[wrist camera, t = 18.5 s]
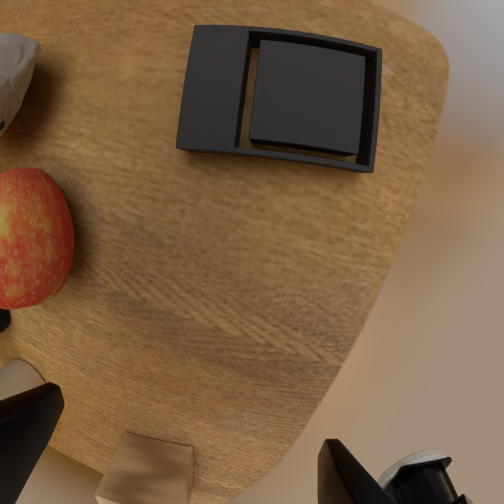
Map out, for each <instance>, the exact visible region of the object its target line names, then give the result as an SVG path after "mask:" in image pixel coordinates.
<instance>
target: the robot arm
mask: <svg viewBox="0 0 504 504" xmlns="http://www.w3.org/2000/svg"><path fill="white" fill-rule="evenodd" d="M63 409H64V399H63V396H62V392H61V388H60V387H59V386H58V385H56V384H54V383H51V382H48V383H45V384H43V385H40V386H38V387H35V388H32V389H30V390H27V391H24V392H22V393H19V394H16V395H14V396H11V397H8V398H6V399H3V400H0V504H15V503H16V501H17V499H18V497H19V495H20V493H21V491H22V489H23V487H24V486H25V484H26V482H27V480H28V478H29V476H30V474H31V473H32V471H33V469H34V467H35V465H36V463H37V461H38V460H39V458H40V456H41V454H42V453H43V451H44V449H45V447H46V446H47V444H48V442H49V440H50V438H51V436H52V434H53V431H54V429H55V427H56V425H57V422H58V420H59V418H60V415H61V413H62V411H63ZM451 461H452V459H451V457H446V458H441V459H436V460H431V461H426V462H420V463H414V464H408V465H404V466H402V467H400V468H399V470H398V471H397V473H396V474H395V475H394V477H393V478H392V480H391V481H390V482H389V484H388V485H387V487H386V488H385V489H384V490H383V488H382V487H381V486H380V485H379V484H378V483H377V482H376V481H375V480H374V479H373V478H372V476H370V474H369V473H368V472H367V471H366V470H365V469H364V468H363V466H362V465H361V464H360V463H359V462H358V461H357V460H356V459H355V457H354V456H353V455H352V454H351V453H350V452H349V451H348V449H346V447H345V446H344V445H343V444H342V443H341V442H340V440H338V439H326V440H325V441H324V443H323V446H322V448H321V450H320V452H319V455H318V504H473V503H472V501H471V500H470V499H468V497H467V496H466V495H464V494H462V495H461V496H459V497H458V495H457V493H456V491H455V489H454V486H453V484H452V482H451V480H450V478H449V476H448V474H447V472H446V470H445V469H446V468H447V467H448V465H449V464H450V463H451Z"/></svg>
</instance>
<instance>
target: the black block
mask: <svg viewBox="0 0 504 504" xmlns="http://www.w3.org/2000/svg"><path fill="white" fill-rule="evenodd" d="M364 77H365V57H364V56H360V55H355V54H351V53H346V52H342V51H337V50H332V49H326V48H321V47H315V46H309V45H302V44H295V43H287V42H279V41H269V40H261V42H260V50H259V57H258V65H257V73H256V82H255V90H254V98H253V107H252V115H251V123H250V132H249V139H250V141H251V143H255V144H264V145H273V146H281V147H289V148H296V149H303V150H310V151H317V152H323V153H329V154H335V155H341V156H350V155H356V154H358V152H359V142H360V132H361V121H362V109H363V95H364Z"/></svg>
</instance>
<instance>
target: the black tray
mask: <svg viewBox="0 0 504 504" xmlns="http://www.w3.org/2000/svg"><path fill="white" fill-rule="evenodd" d="M261 40H269V41H279V42H287V43H295V44H302V45H309V46H315V47H321V48H326V49H332V50H337V51H342V52H346V53H351V54H355V55H360V56H364V57H365V77H364V95H363V109H362V121H361V132H360V142H359V152H358V154H357V161H356V164H354V163H349V162H343V161H337V160H331V159H325V158H319V157H313V156H306V155H299V154H292V153H285V152H277V151H269V150H260V149H251V148H242V147H239V140H240V132H241V123H242V115H243V107H244V99H245V91H246V84H247V76H248V68H249V61H250V54H251V46H252V47H257V48H260V42H261ZM381 72H382V49H380V48H377V47H373V46H369V45H365V44H361V43H357V42H353V41H348V40H344V39H339V38H334V37H329V36H324V35H318V34H312V33H306V32H299V31H292V30H284V29H276V28H265V27H253V26H250V27H249V26H234V25H195V26H194V31H193V36H192V42H191V47H190V53H189V58H188V64H187V70H186V76H185V82H184V89H183V96H182V102H181V110H180V117H179V125H178V133H177V141H176V148H177V149H181V150H185V151H191V152H206V153H218V154H229V155H239V156H249V157H258V158H267V159H275V160H283V161H290V162H298V163H304V164H311V165H318V166H324V167H330V168H336V169H342V170H348V171H353V172H359V173H373V171H374V162H375V153H376V144H377V134H378V122H379V109H380V94H381Z"/></svg>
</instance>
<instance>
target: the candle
mask: <svg viewBox="0 0 504 504" xmlns="http://www.w3.org/2000/svg"><path fill="white" fill-rule="evenodd" d="M43 384H45V382H44V380H43V379H42V377H41V376H40V375H39V373H38V372H37V371H36V370H35V369H34V368H33V367H32V366H30V365H29V364H28V363H26V362H24V361H22V360H19V359H14V360H12V361H11V362H9V363H8V364H7V365H6V366H5V367H3V368H2V369H1V370H0V400H3V399H6V398H8V397H11V396H14V395H16V394H19V393H22V392H24V391H27V390H30V389H32V388H35V387H38V386H40V385H43Z"/></svg>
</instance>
